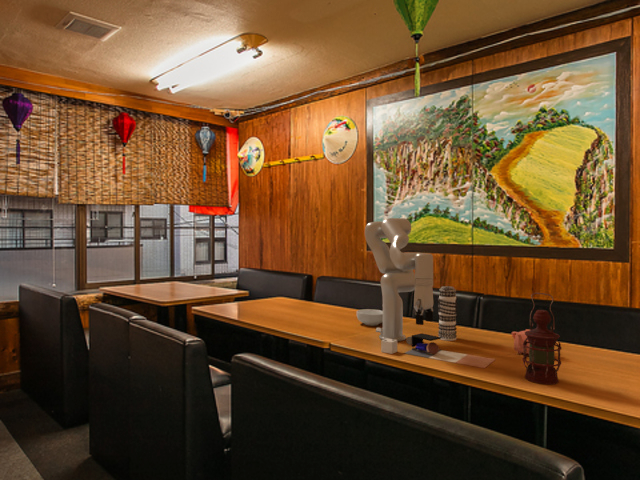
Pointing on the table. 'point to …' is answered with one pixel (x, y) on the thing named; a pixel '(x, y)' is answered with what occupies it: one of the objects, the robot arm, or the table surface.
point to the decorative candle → (447, 313)
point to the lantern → (542, 349)
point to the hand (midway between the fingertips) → (424, 322)
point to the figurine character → (418, 343)
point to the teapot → (520, 341)
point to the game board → (454, 357)
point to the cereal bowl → (370, 316)
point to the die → (389, 346)
